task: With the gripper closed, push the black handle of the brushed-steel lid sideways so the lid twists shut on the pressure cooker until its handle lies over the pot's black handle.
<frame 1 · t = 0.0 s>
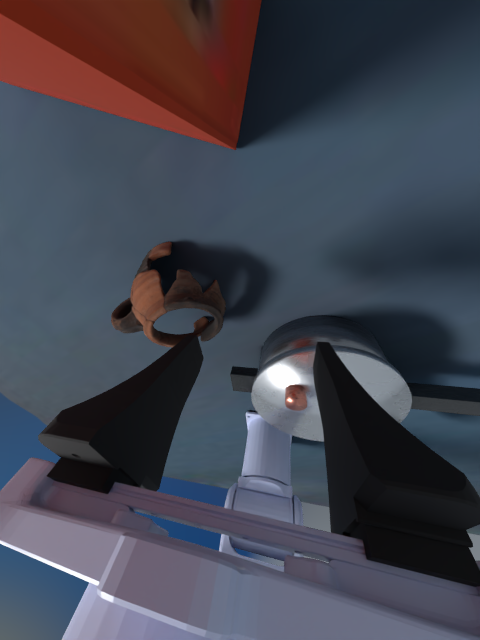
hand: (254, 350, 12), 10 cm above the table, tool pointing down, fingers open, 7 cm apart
pottery mug: (180, 287, 23), on the table
cooker pot: (316, 361, 25), on the table
cooker lid: (352, 423, 21), point 6 cm above the table, hinge at 35.0°
file binder: (120, 31, 13), on the table
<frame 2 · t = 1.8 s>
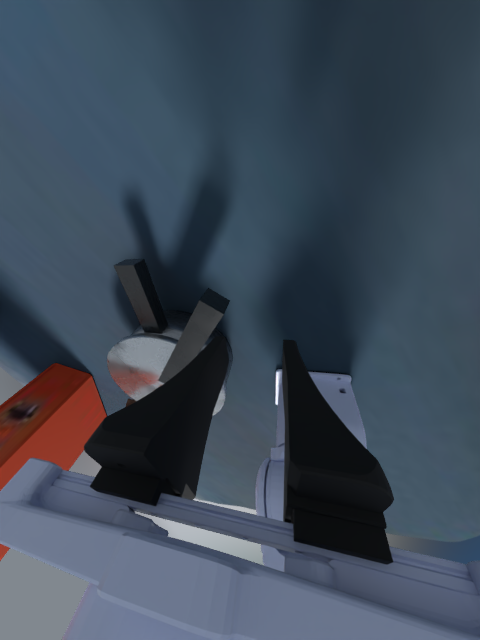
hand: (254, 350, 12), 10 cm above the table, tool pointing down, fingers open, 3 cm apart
cooker pot: (185, 350, 29), on the table
cooker lid: (173, 371, 22), point 6 cm above the table, hinge at 35.0°
file binder: (84, 392, 44), on the table
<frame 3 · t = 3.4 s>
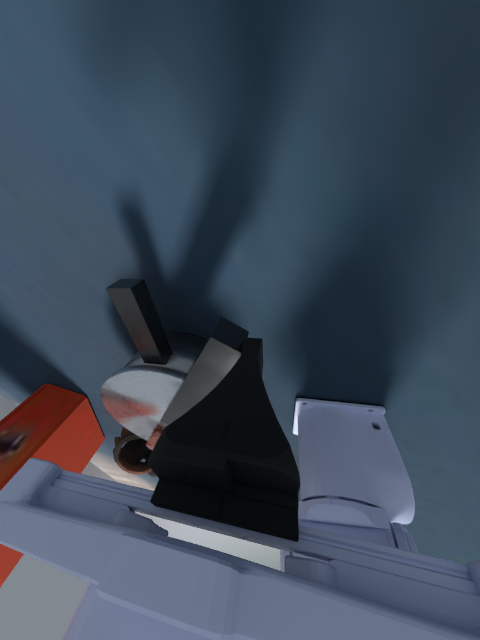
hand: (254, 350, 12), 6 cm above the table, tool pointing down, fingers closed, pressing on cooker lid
pottery mug: (157, 426, 37), on the table
cooker pot: (191, 375, 26), on the table
cooker lid: (178, 409, 18), point 6 cm above the table, hinge at 33.6°, touching gripper
file binder: (79, 412, 40), on the table
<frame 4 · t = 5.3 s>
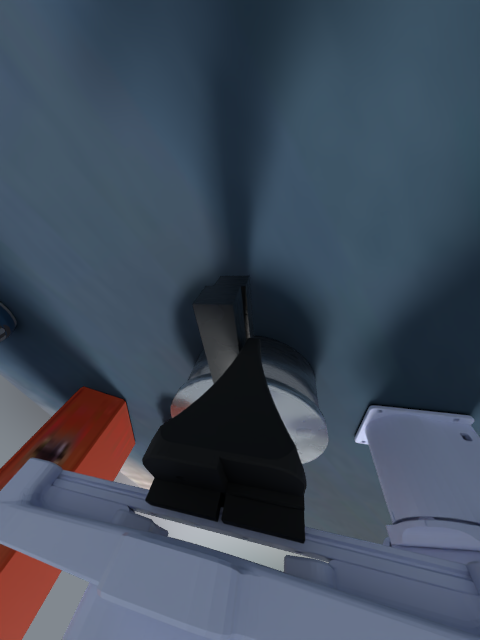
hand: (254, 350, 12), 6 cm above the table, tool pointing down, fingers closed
cooker pot: (253, 380, 24), on the table
cooker lid: (240, 412, 17), point 6 cm above the table, hinge at -0.2°, touching gripper
file binder: (112, 416, 38), on the table
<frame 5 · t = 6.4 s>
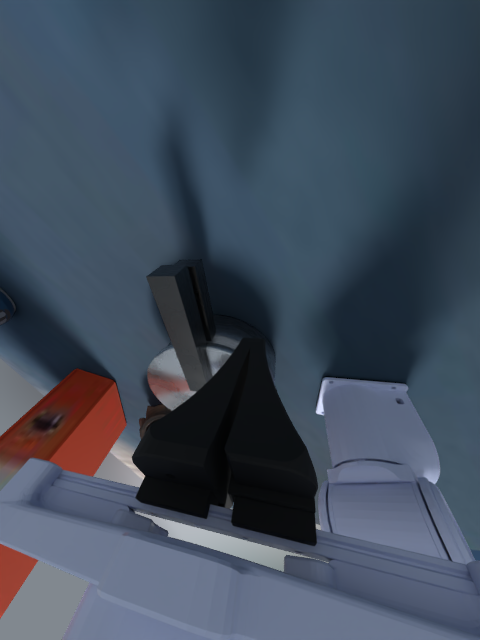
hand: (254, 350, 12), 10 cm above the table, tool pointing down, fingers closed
pottery mug: (176, 409, 39), on the table
cooker pot: (223, 357, 27), on the table
cooker lid: (202, 376, 20), point 6 cm above the table, hinge at -0.3°
file binder: (104, 398, 42), on the table
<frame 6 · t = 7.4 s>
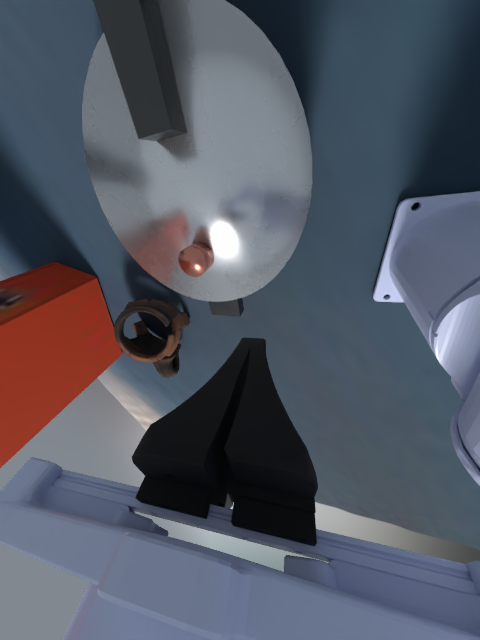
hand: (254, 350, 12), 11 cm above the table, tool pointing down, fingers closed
pottery mug: (170, 324, 31), on the table
cooker pot: (223, 190, 17), on the table
cooker lid: (163, 116, 10), point 6 cm above the table, hinge at -0.3°
file binder: (94, 312, 35), on the table
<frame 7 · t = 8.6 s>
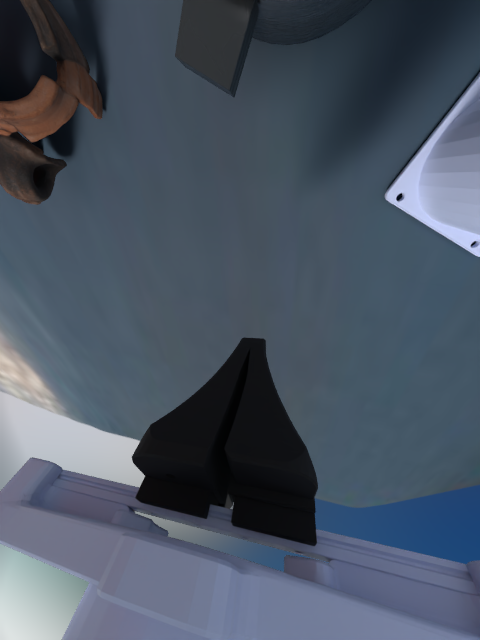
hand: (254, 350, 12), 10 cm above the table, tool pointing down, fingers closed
pottery mug: (56, 112, 16), on the table
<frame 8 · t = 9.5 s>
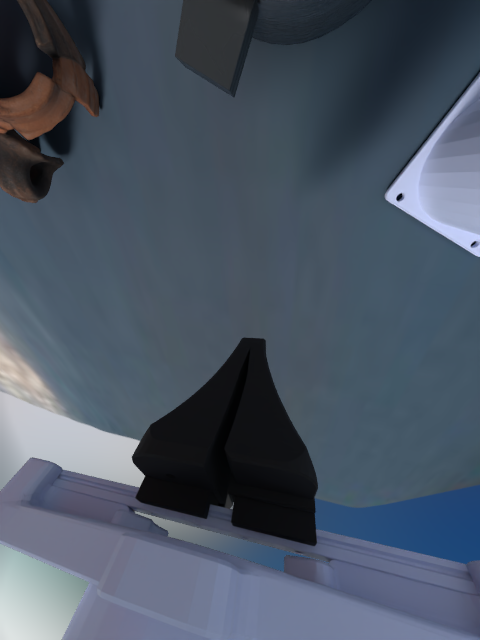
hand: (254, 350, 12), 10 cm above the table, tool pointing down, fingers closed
pottery mug: (53, 110, 16), on the table
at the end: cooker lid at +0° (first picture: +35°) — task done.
